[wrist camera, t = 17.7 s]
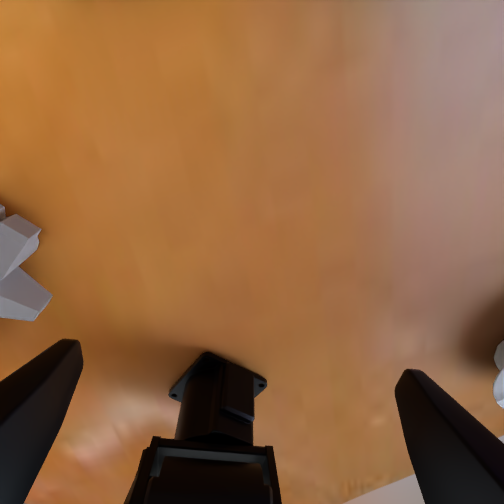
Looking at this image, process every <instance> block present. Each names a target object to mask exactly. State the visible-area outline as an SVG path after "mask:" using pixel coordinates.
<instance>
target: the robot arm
mask: <svg viewBox="0 0 504 504" xmlns="http://www.w3.org/2000/svg"><path fill="white" fill-rule="evenodd" d="M82 369H83V355H82V350H81V345H80V342H79V341H78V340H74V339H62V340H59V341H58V342H57V343H55V344H54V345H52V346H51V347H49V348H48V349H46V350H45V351H44V352H42V353H41V354H39V355H38V356H36V357H35V358H34V359H32V360H31V361H29V362H28V363H26V364H25V365H23V366H22V367H21V368H19V369H18V370H16V371H15V372H13V373H12V374H11V375H9V376H8V377H6V378H5V379H3V380H2V381H0V504H23V503H24V501H25V499H26V497H27V495H28V493H29V491H30V489H31V487H32V485H33V483H34V481H35V479H36V477H37V475H38V473H39V471H40V469H41V467H42V465H43V463H44V461H45V459H46V457H47V455H48V453H49V451H50V449H51V447H52V444H53V442H54V440H55V438H56V436H57V434H58V432H59V430H60V428H61V425H62V423H63V420H64V418H65V415H66V412H67V410H68V407H69V404H70V402H71V399H72V396H73V393H74V391H75V388H76V385H77V383H78V380H79V377H80V374H81V372H82ZM266 387H267V380H266V379H265V378H263V377H261V376H259V375H257V374H254V373H252V372H250V371H248V370H246V369H244V368H242V367H240V366H238V365H236V364H234V363H232V362H229V361H227V360H225V359H223V358H221V357H219V356H217V355H215V354H213V353H211V352H204V353H202V355H201V356H200V357H199V358H198V359H197V360H196V361H195V362H194V363H193V365H192V366H191V367H190V368H189V369H188V370H187V371H186V372H185V373H184V374H183V376H182V377H181V378H180V379H179V380H178V381H177V382H176V383H175V384H174V386H173V387H172V388H171V389H170V391H169V397H170V398H172V399H174V400H177V401H179V402H181V407H180V412H179V417H178V422H177V428H176V433H175V438H174V439H165V438H161V437H159V436H153V438H152V441H151V444H150V447H147V449H144V450H143V452H142V456H141V460H140V464H139V467H138V471H137V474H136V476H135V479H134V481H133V483H132V486H131V488H130V490H129V493H128V495H127V497H126V499H125V502H124V504H282V502H281V494H280V488H279V482H278V476H277V470H276V463H275V457H274V451H273V446H266V445H265V447H261V446H253V420H254V398H255V397H256V396H257V395H258V394H259V393H260V392H262V391H263V390H264V389H265V388H266ZM395 398H396V402H397V407H398V411H399V416H400V420H401V424H402V429H403V433H404V437H405V442H406V446H407V450H408V453H409V456H410V459H411V462H412V465H413V468H414V471H415V474H416V478H417V480H418V483H419V487H420V489H421V493H422V496H423V499H424V502H425V504H504V444H503V443H502V442H501V441H500V440H499V439H498V438H497V437H496V436H495V435H493V434H492V433H491V432H490V431H489V430H488V429H487V428H486V427H485V426H483V425H482V424H481V423H480V422H479V421H478V420H477V419H476V418H474V417H473V416H472V415H471V414H470V413H469V412H468V411H467V410H465V409H464V408H463V407H462V406H461V405H460V404H459V403H458V402H456V401H455V400H454V399H453V398H452V397H451V396H450V395H449V394H447V393H446V392H445V391H444V390H443V389H442V388H441V387H440V386H439V385H437V384H436V383H435V382H434V381H433V380H432V379H431V378H430V377H428V376H427V375H426V374H425V373H424V372H423V371H421V370H417V369H406V370H404V372H403V374H402V375H401V377H400V379H399V381H398V383H397V385H396V387H395Z"/></svg>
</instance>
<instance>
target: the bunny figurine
mask: <svg viewBox="0 0 504 504" xmlns="http://www.w3.org/2000/svg"><path fill="white" fill-rule="evenodd" d="M40 231H41V228H39V227H37V226H36V225H34V224H32V223H31V222H29V221H27V220H26V219H24V218H23V217H21V216H19V215H18V214H14V215H11V216H9V217H6V214H5V207H4V206H3V205H1V204H0V317H2V318H10V319H18V320H26V321H34V320H35V319H36V318H37V316H38V315H39V314H40V313H41V312H42V310H43V309H44V308H45V307H46V306H47V304H48V303H49V302H50V300H51V298H52V296H53V295H52V294H51V293H50V292H48V291H47V290H46V289H45V288H44V287H42V286H41V285H40V284H39V283H38V282H36V281H35V280H34V279H33V278H32V277H30V276H29V275H28V274H27V273H26V272H25V271H23V270H22V269H21V268H20V267H19V265H20V264H21V263H22V262H24V261H25V260H26V259H27V258H28V257H30V256H31V255H32V254H33V253H34V252H35V251H36V250H37V249H38V245H39V239H38V237H37V236H38V234H39V233H40Z"/></svg>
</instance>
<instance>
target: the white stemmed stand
mask: <svg viewBox="0 0 504 504" xmlns="http://www.w3.org/2000/svg"><path fill="white" fill-rule="evenodd" d="M494 361H495V363H496V366H497V368H498V369H499V370H500V371H499V373H498V375H497V376H496V378H495V381H494V383H493V395H494V397H495V400H496V402H497V403H498V405H500V406H501V407H502V408H504V340H503V341H502V342H501V343H500V344H499V345H498V346H497V349H496V352H495V355H494Z"/></svg>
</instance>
